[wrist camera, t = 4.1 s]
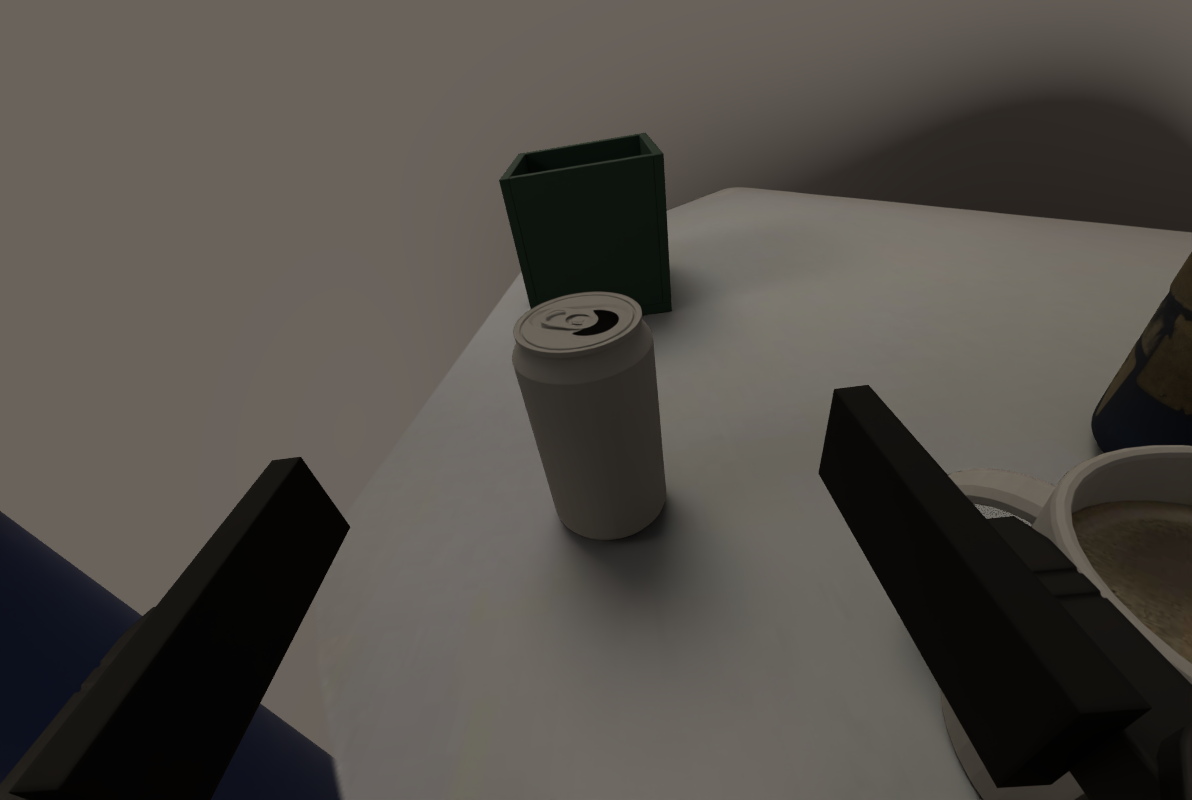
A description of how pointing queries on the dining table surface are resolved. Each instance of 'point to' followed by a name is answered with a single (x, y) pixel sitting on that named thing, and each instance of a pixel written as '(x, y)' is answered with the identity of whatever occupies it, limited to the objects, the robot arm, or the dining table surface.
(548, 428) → the beverage can
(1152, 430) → the canister
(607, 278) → the waste bin
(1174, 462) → the mug
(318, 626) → the dining table surface
